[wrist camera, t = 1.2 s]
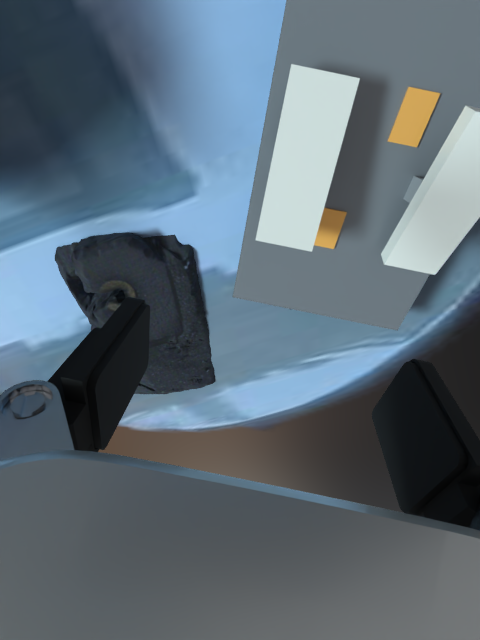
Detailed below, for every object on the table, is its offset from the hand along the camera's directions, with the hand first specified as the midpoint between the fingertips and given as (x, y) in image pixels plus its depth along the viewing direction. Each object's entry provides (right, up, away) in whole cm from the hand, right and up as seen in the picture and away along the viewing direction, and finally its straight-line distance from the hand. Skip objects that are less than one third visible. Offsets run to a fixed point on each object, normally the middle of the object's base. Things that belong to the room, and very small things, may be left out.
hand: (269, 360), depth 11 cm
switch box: (+9, +14, +14) cm, 22 cm away
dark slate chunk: (-12, +2, +26) cm, 29 cm away
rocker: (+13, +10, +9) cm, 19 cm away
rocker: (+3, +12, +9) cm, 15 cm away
